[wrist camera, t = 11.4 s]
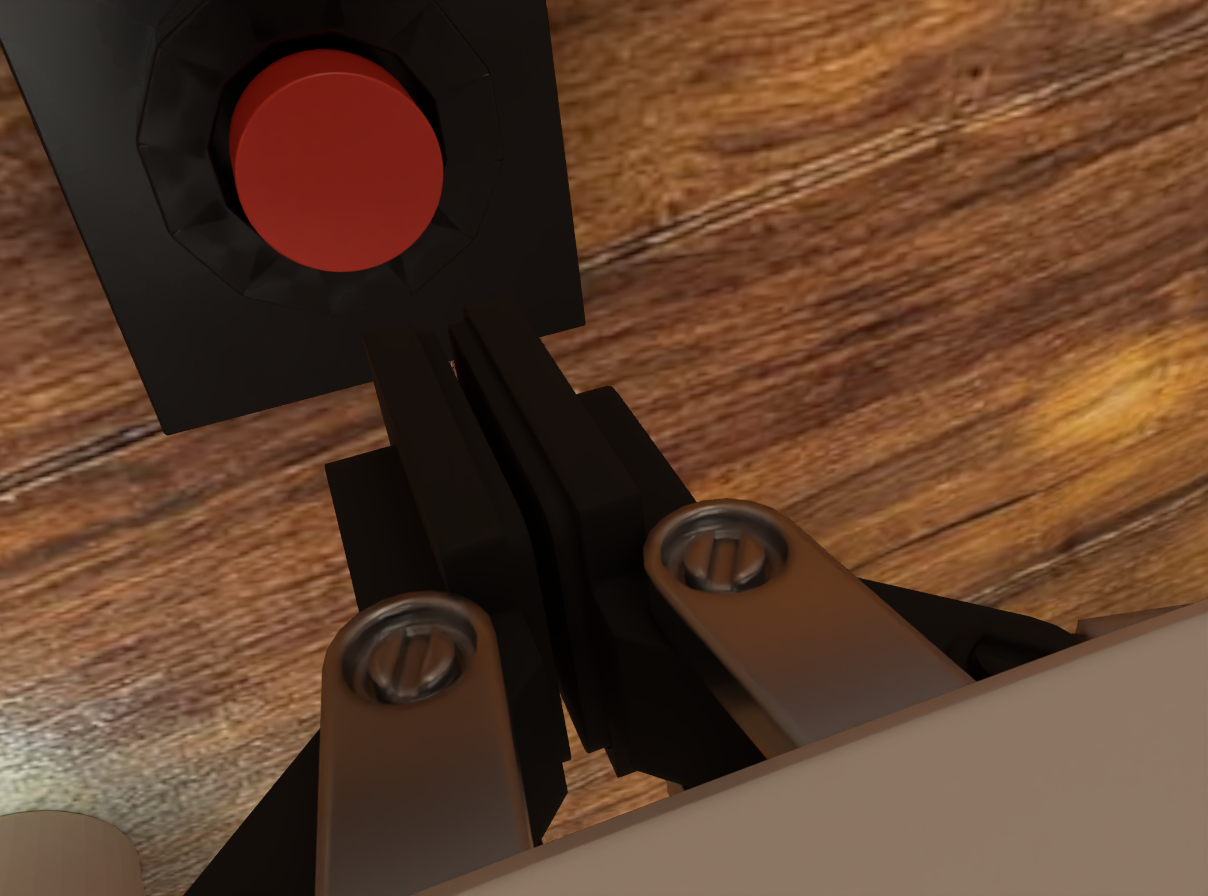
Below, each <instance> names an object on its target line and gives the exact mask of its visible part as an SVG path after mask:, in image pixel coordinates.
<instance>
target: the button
mask: <svg viewBox="0 0 1208 896" xmlns="http://www.w3.org/2000/svg"><path fill="white" fill-rule="evenodd" d="M229 151H230V159H231V164H232V169H233V174H234V179H235V184H236V189H237V193H238V197H239V200H240V203H241V205H242V208H243V210H244V213H245V214H246V216H247V218H248V220H249V221H250V223H251V225H252V226H253V227H254V229H255V230H256V231H257V233H258V234H259V235H260V236H261V237H262V238H263V239H264V240H265V241H266V242H267V243H268V244H269V245H270V246H271V247H272V248H274V249H275V250H276V251H278V252H279V253H280V254H282V255H284V256H285V257H287V258H289V259H290V260H293V261H295V262H297V263H299V264H301V265H304V266H307V267H311V268H314V269H319V270H324V271H332V272H351V271H358V270H364V269H368V268H372V267H375V266H378V265H380V264H383V263H385V262H387V261H389V260H391V259H393V258H395V257H396V256H398V255H400V254H401V253H402V252H404V251H405V250H406V249H408V248H409V247H410V246H411V245H412V244H413V243H414V242H415V241H416V240H417V239H418V238H419V237H420V236H421V234H422V233H423V232H424V231H425V229H426V228H427V226H428V225H429V223H430V221H431V220H432V218H433V216H434V214H435V211H436V209H437V207H438V204H439V200H440V196H441V193H442V185H443V162H442V154H441V151H440V147H439V143H438V140H437V138H436V135H435V133H434V131H433V129H432V127H431V125H430V123H429V122H428V120H427V118H426V117H425V116H424V114H423V113H422V112H421V110H420V109H419V108H418V106H417V105H416V104H415V102H414V101H413V99H412V98H411V97H410V95H409V94H408V93H407V91H406V90H405V89H404V88H403V86H402V85H401V84H400V83H399V82H398V81H397V80H396V79H395V78H394V77H393V76H392V75H391V74H390V73H389V72H387V71H386V70H385V69H384V68H382V67H381V66H379V65H378V64H376V63H374V62H373V61H371V60H369V59H367V58H364V57H362V56H360V55H357V54H354V53H350V52H347V51H341V50H335V49H313V50H305V51H301V52H297V53H293V54H290V55H288V56H285V57H283V58H281V59H279V60H277V61H275V62H274V63H272V64H270V65H268V66H267V67H266V68H265V69H263V70H262V71H261V72H260V73H258V74H257V75H256V76H255V78H254V79H253V80H252V81H251V82H250V83H249V84H248V86H247V87H246V88H245V90H244V91H243V93H242V94H241V96H240V98H239V100H238V102H237V104H236V106H235V109H234V112H233V115H232V118H231V124H230V130H229Z"/></svg>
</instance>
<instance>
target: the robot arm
mask: <svg viewBox="0 0 1208 896" xmlns="http://www.w3.org/2000/svg"><path fill="white" fill-rule="evenodd" d="M462 314H463V321H461V322H457V323H453V324H449V325H448V335H449V340H450V345H451V349H452V354H453V359H454V364H455V368H456V373H457V378H458V380H457V378H456V376H455V374H454V372H453V369H452V367H451V365H450V363H449V361H448V359H447V357H446V355H445V353H444V351H443V349H442V347H441V345H440V343H439V340H438V338H437V336H436V334H435V332H434V330H433V329H429V330H425V331H422V332H418V333H416V332H415V330H414V328H413V326H412V324H411V322H410V321H408V322H404V323H400V324H396V325H392V326H388V327H384V328H380V329H376V330H372V331H368V332H364V333H361V335H362V340H363V344H364V348H365V352H366V355H367V359H368V363H369V367H370V370H371V374H372V378H373V382H374V385H375V389H376V393H377V396H378V400H379V404H380V408H381V411H382V415H383V419H384V423H385V426H386V430H387V434H388V437H389V441H390V445H391V446H388V447H385V448H381V449H378V450H374V451H371V452H367V453H363V454H360V455H356V456H353V457H349V458H345V459H342V460H338V461H335V462H331V463H327V464H325V470H326V475H327V479H328V483H329V487H330V491H331V496H332V500H333V504H334V508H335V512H336V517H337V521H338V525H339V529H340V533H341V538H342V542H343V546H344V550H345V554H346V559H347V563H348V567H349V571H350V575H351V580H352V584H353V588H354V592H355V596H356V601H357V605H358V609H359V613H358V614H357V615H356V616H354V617H353V618H352V619H351V620H350V621H349V622H348V623H347V624H346V625H344V626H343V627H342V628H341V629H340V630H339V631H338V633H337V635H336V636H335V638H334V639H333V641H332V642H331V644H330V645H329V647H328V648H327V651H326V655H325V659H324V664H323V668H322V687H321V719H320V729H319V730H318V731H317V733H316V734H315V735H314V736H313V738H312V739H311V740H310V741H309V742H308V744H307V745H306V746H305V747H304V749H303V750H302V751H301V752H300V753H299V755H298V756H297V757H296V758H295V760H294V761H293V762H292V763H291V764H290V766H289V767H288V768H287V769H286V771H285V772H284V773H283V774H282V775H281V777H280V778H279V779H278V780H277V782H276V783H275V784H274V785H273V786H272V788H271V789H270V790H269V791H268V793H267V794H266V795H265V796H264V797H263V799H262V800H261V801H260V802H259V804H258V805H257V806H256V807H255V808H254V810H253V811H252V812H251V813H250V815H249V816H248V817H247V818H246V819H245V821H244V822H243V823H242V824H241V826H240V827H239V828H238V829H237V830H236V832H235V833H234V834H233V835H232V837H231V838H230V839H229V840H228V841H227V843H226V844H225V845H224V846H223V848H222V849H221V850H220V851H219V852H218V854H217V855H216V856H215V857H214V858H213V860H212V861H211V862H210V863H209V865H208V866H207V867H206V868H205V869H204V871H203V872H202V873H201V874H200V876H199V877H198V878H197V879H196V880H195V882H194V883H193V884H192V885H191V887H190V888H189V889H188V890H187V891H186V893H185V894H184V895H183V896H1208V599H1205V600H1203V601H1200V602H1197V603H1192V604H1185V605H1178V606H1171V607H1164V608H1158V609H1151V610H1144V611H1137V612H1130V613H1123V614H1116V615H1110V616H1103V617H1096V618H1089V619H1082V620H1078V624H1077V629H1076V633H1074V634H1070V633H1068V632H1067V631H1065V630H1063V629H1062V628H1060V627H1058V626H1056V625H1054V624H1051V623H1048V622H1045V621H1042V620H1039V619H1036V618H1033V617H1030V616H1025V615H1021V614H1016V613H1012V612H1007V611H1003V610H999V609H994V608H990V607H985V606H981V605H977V604H972V603H968V602H963V601H959V600H954V599H950V598H946V597H941V596H937V595H932V594H928V593H923V592H919V591H915V590H910V589H906V588H901V587H897V586H892V585H888V584H884V583H879V582H875V581H870V580H866V579H861V578H857V577H856V576H855V575H853V574H852V573H851V572H850V571H849V570H848V569H847V568H845V567H844V566H843V565H842V564H841V563H840V562H839V561H837V560H836V559H835V558H834V557H833V556H832V555H831V554H829V553H828V552H827V551H826V550H825V549H824V548H822V547H821V546H820V545H819V544H818V543H817V542H816V541H814V540H813V539H812V538H811V537H810V536H809V535H808V534H806V533H805V532H804V531H803V530H802V529H801V528H800V527H798V526H797V525H796V524H795V523H794V522H793V521H791V520H790V519H789V518H787V517H786V516H784V515H783V514H781V513H779V512H778V511H776V510H775V509H773V508H771V507H768V506H765V505H762V504H759V503H756V502H753V501H748V500H738V499H729V498H725V499H714V500H703V501H700V502H696V500H695V499H694V498H693V496H692V495H691V494H690V492H689V491H688V489H687V488H686V487H685V485H684V484H683V482H682V481H681V480H680V478H679V477H678V476H677V474H676V473H675V471H674V470H673V469H672V467H671V466H670V464H669V463H668V462H667V460H666V459H665V458H664V456H663V455H662V453H661V452H660V451H659V449H658V448H657V446H656V445H655V444H654V442H653V441H652V440H651V438H650V437H649V435H648V434H647V433H646V431H645V430H644V428H643V427H642V426H641V424H640V423H639V422H638V420H637V419H636V417H635V416H634V415H633V413H632V412H631V411H630V409H629V408H628V406H627V405H626V404H625V402H624V401H623V399H622V398H621V397H620V395H619V394H618V393H617V392H616V391H615V389H614V388H613V387H612V386H604V387H601V388H597V389H594V390H590V391H586V392H583V393H579V394H576V393H575V392H574V390H573V389H572V387H571V386H570V384H569V383H568V381H567V379H566V378H565V376H564V375H563V373H562V372H561V370H560V369H559V367H558V366H557V364H556V363H555V361H554V360H553V358H552V357H551V355H550V354H549V352H548V351H547V349H546V348H545V346H544V344H543V343H542V341H541V340H540V338H539V337H538V335H537V334H536V332H535V331H534V329H533V328H532V326H531V325H530V323H529V322H528V320H527V319H526V317H525V316H524V314H523V312H522V311H521V309H520V308H519V306H518V305H517V303H516V302H515V300H514V299H513V298H512V297H511V296H507V297H503V298H499V299H495V300H491V301H487V302H483V303H479V304H475V305H471V306H468V307H464V308H463V310H462ZM560 694H561V696H562V699H563V701H564V703H565V705H566V708H567V710H568V712H569V715H570V717H571V719H572V722H573V724H574V726H575V729H576V731H577V733H578V736H579V738H580V740H581V743H582V745H583V747H584V749H585V750H586V752H587V753H591V752H594V751H597V750H599V749H602V748H605V751H606V753H607V755H608V757H609V759H610V762H611V764H612V766H613V768H614V770H615V773H616V775H617V777H618V778H619V777H622V776H625V775H627V774H630V773H633V772H636V771H640V772H643V773H646V774H649V775H652V776H655V777H658V778H661V779H665V780H666V781H667V790H668V794H669V796H670V797H667V798H665V799H662V800H659V801H657V802H654V803H651V804H649V805H646V806H644V807H641V808H638V809H636V810H633V811H630V812H628V813H625V814H622V815H620V816H617V817H614V818H612V819H609V820H606V821H604V822H601V823H598V824H596V825H593V826H590V827H588V828H585V829H583V830H580V831H577V832H575V833H572V834H569V835H567V836H564V837H561V838H559V839H556V840H553V841H551V842H548V843H546V844H543V841H542V837H543V836H544V834H545V832H546V830H547V828H548V827H549V825H550V823H551V821H552V820H553V818H554V816H555V814H556V812H557V811H558V809H559V807H560V805H561V804H562V802H563V800H564V798H565V796H566V795H567V793H568V791H567V785H566V780H565V775H564V770H563V765H562V763H563V762H566V761H569V760H571V752H570V747H569V741H568V736H567V730H566V725H565V719H564V714H563V708H562V703H561V698H560Z"/></svg>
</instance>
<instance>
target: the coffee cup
mask: <svg viewBox="0 0 1208 896" xmlns="http://www.w3.org/2000/svg"><path fill="white" fill-rule="evenodd" d="M0 896H144V890H143V882H142V875H141V868H140V861H139V858H138V854H137V850H136V849H135V847H134V845H133V844H132V842H131V841H130V839H129V838H128V837H127V836H125V835H124V834H123V833H122V832H121V831H120V830H119V829H117V828H115V827H113V826H111V825H110V824H108V823H106V822H104V821H102V820H99V819H96V818H92V817H89V816H86V815H82V814H76V813H69V812H62V811H34V812H23V813H15V814H10V815H5V816H1V817H0Z"/></svg>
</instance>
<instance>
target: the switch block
mask: <svg viewBox="0 0 1208 896" xmlns="http://www.w3.org/2000/svg"><path fill="white" fill-rule="evenodd" d="M0 46H1V48H2V50H3V53H4V55H5V58H6V60H7V62H8V65H9V67H10V69H11V72H12V74H13V76H14V79H15V81H16V84H17V86H18V88H19V91H20V93H21V95H22V98H23V100H24V103H25V105H26V107H27V110H28V112H29V114H30V117H31V119H32V121H33V124H34V126H35V129H36V131H37V133H38V136H39V138H40V140H41V143H42V145H43V148H44V150H45V152H46V155H47V157H48V159H49V162H50V164H51V167H52V169H53V171H54V174H55V176H56V178H57V181H58V183H59V185H60V188H61V190H62V193H63V195H64V197H65V200H66V202H67V204H68V207H69V209H70V212H71V214H72V216H73V219H74V221H75V223H76V226H77V228H78V231H79V233H80V235H81V238H82V240H83V242H84V245H85V247H86V249H87V252H88V254H89V257H90V259H91V261H92V264H93V266H94V268H95V271H96V273H97V276H98V278H99V280H100V283H101V285H102V287H103V290H104V292H105V294H106V297H107V299H108V302H109V304H110V306H111V309H112V311H113V313H114V316H115V318H116V321H117V323H118V325H119V328H120V330H121V332H122V335H123V337H124V340H125V342H126V344H127V347H128V349H129V351H130V354H131V356H132V358H133V361H134V363H135V366H136V368H137V370H138V373H139V375H140V377H141V380H142V382H143V385H144V387H145V389H146V392H147V394H148V396H149V399H150V401H151V404H152V406H153V408H154V411H155V413H156V415H157V418H158V420H159V422H160V425H161V427H162V430H163V432H164V434H165V435H172V434H175V433H179V432H183V431H187V430H191V429H194V428H198V427H202V426H206V425H210V424H213V423H217V422H221V421H225V420H228V419H232V418H236V417H240V416H244V415H247V414H251V413H255V412H259V411H263V410H266V409H270V408H274V407H278V406H281V405H285V404H289V403H293V402H297V401H300V400H304V399H308V398H312V397H315V396H319V395H323V394H327V393H331V392H334V391H338V390H342V389H346V388H350V387H353V386H357V385H361V384H365V383H368V382H372V381H373V378H372V374H371V370H370V367H369V363H368V359H367V355H366V352H365V348H364V344H363V340H362V335H361V333H364V332H368V331H372V330H376V329H380V328H384V327H388V326H392V325H396V324H400V323H404V322H408V321H410V322H411V324H412V326H413V328H414V330H415V332H416V333H418V332H422V331H425V330H429V329H433V330H434V332H435V334H436V336H437V338H438V340H439V343H440V345H441V347H442V349H443V351H444V353H445V355H446V357H447V359H448V361H452V360H454V359H453V354H452V349H451V345H450V340H449V335H448V325H449V324H453V323H457V322H461V321H463V314H462V310H463V308H464V307H468V306H471V305H475V304H479V303H483V302H487V301H491V300H495V299H499V298H503V297H507V296H511V297H512V298H513V299H514V300H515V302H516V303H517V305H518V306H519V308H520V309H521V311H522V312H523V314H524V316H525V317H526V319H527V320H528V322H529V323H530V325H531V326H532V328H533V329H534V331H535V332H536V334H537V335H538V337H543V336H546V335H550V334H554V333H558V332H561V331H565V330H569V329H573V328H577V327H580V326H584V325H585V323H586V322H585V313H584V305H583V297H582V289H581V281H580V273H579V265H578V256H577V248H576V240H575V232H574V224H573V216H572V207H571V199H570V191H569V183H568V175H567V167H566V159H565V150H564V142H563V134H562V126H561V118H560V110H559V102H558V93H557V85H556V77H555V69H554V61H553V53H552V44H551V36H550V28H549V20H548V12H547V4H546V0H0ZM313 49H335V50H341V51H347V52H350V53H354V54H357V55H360V56H362V57H364V58H367V59H369V60H371V61H373V62H374V63H376V64H378V65H379V66H381V67H382V68H384V69H385V70H386V71H387V72H389V73H390V74H391V75H392V76H393V77H394V78H395V79H396V80H397V81H398V82H399V83H400V84H401V85H402V86H403V88H404V89H405V90H406V91H407V93H408V94H409V95H410V97H411V98H412V99H413V101H414V102H415V104H416V105H417V106H418V108H419V109H420V110H421V112H422V113H423V114H424V116H425V117H426V118H427V120H428V122H429V123H430V125H431V127H432V129H433V131H434V133H435V135H436V138H437V140H438V143H439V147H440V151H441V154H442V162H443V185H442V193H441V196H440V200H439V204H438V207H437V209H436V211H435V214H434V216H433V218H432V220H431V221H430V223H429V225H428V226H427V228H426V229H425V231H424V232H423V233H422V234H421V236H420V237H419V238H418V239H417V240H416V241H415V242H414V243H413V244H412V245H411V246H410V247H409V248H408V249H406V250H405V251H404V252H402V253H401V254H400V255H398V256H396V257H395V258H393V259H391V260H389V261H387V262H385V263H383V264H380V265H378V266H375V267H372V268H368V269H364V270H358V271H351V272H332V271H324V270H319V269H314V268H311V267H307V266H304V265H301V264H299V263H297V262H295V261H293V260H290V259H289V258H287V257H285V256H284V255H282V254H280V253H279V252H278V251H276V250H275V249H274V248H272V247H271V246H270V245H269V244H268V243H267V242H266V241H265V240H264V239H263V238H262V237H261V236H260V235H259V234H258V233H257V231H256V230H255V229H254V227H253V226H252V225H251V223H250V221H249V220H248V218H247V216H246V214H245V213H244V210H243V208H242V205H241V203H240V200H239V197H238V193H237V189H236V184H235V179H234V174H233V169H232V164H231V159H230V151H229V130H230V124H231V118H232V115H233V112H234V109H235V106H236V104H237V102H238V100H239V98H240V96H241V94H242V93H243V91H244V90H245V88H246V87H247V86H248V84H249V83H250V82H251V81H252V80H253V79H254V78H255V76H256V75H257V74H258V73H260V72H261V71H262V70H263V69H265V68H266V67H267V66H268V65H270V64H272V63H274V62H275V61H277V60H279V59H281V58H283V57H285V56H288V55H290V54H293V53H297V52H301V51H305V50H313Z"/></svg>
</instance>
